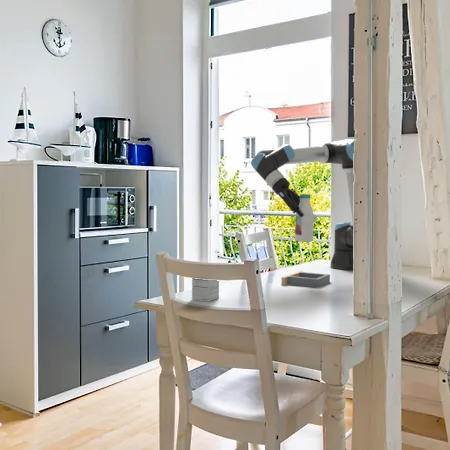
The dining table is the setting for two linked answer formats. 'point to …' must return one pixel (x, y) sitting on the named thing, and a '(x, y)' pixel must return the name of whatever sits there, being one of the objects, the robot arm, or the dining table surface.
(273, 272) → the dining table surface
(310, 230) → the milk bottle
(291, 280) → the tray
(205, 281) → the supplement box
